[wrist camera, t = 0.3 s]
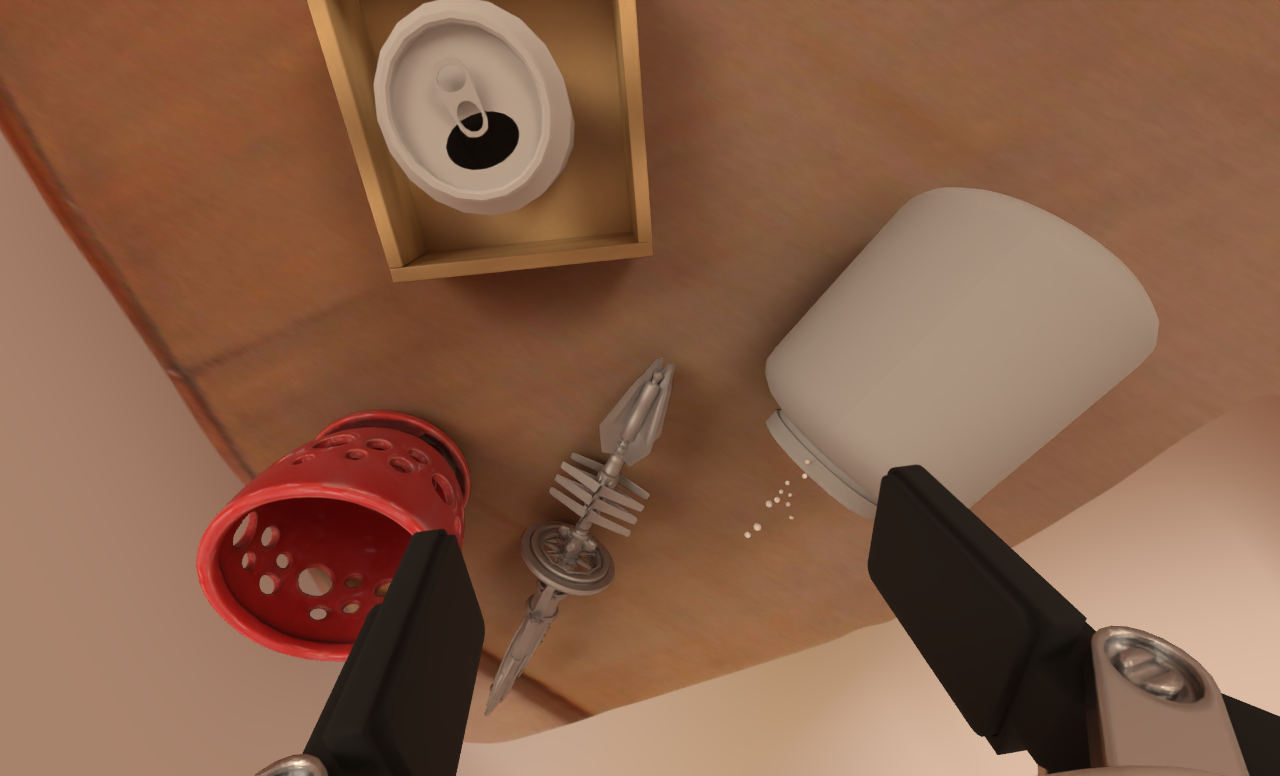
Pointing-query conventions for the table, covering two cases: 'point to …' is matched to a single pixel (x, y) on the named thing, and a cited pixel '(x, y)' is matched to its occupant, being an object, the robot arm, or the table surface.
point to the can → (473, 106)
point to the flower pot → (332, 529)
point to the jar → (954, 347)
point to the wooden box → (570, 208)
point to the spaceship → (586, 519)
